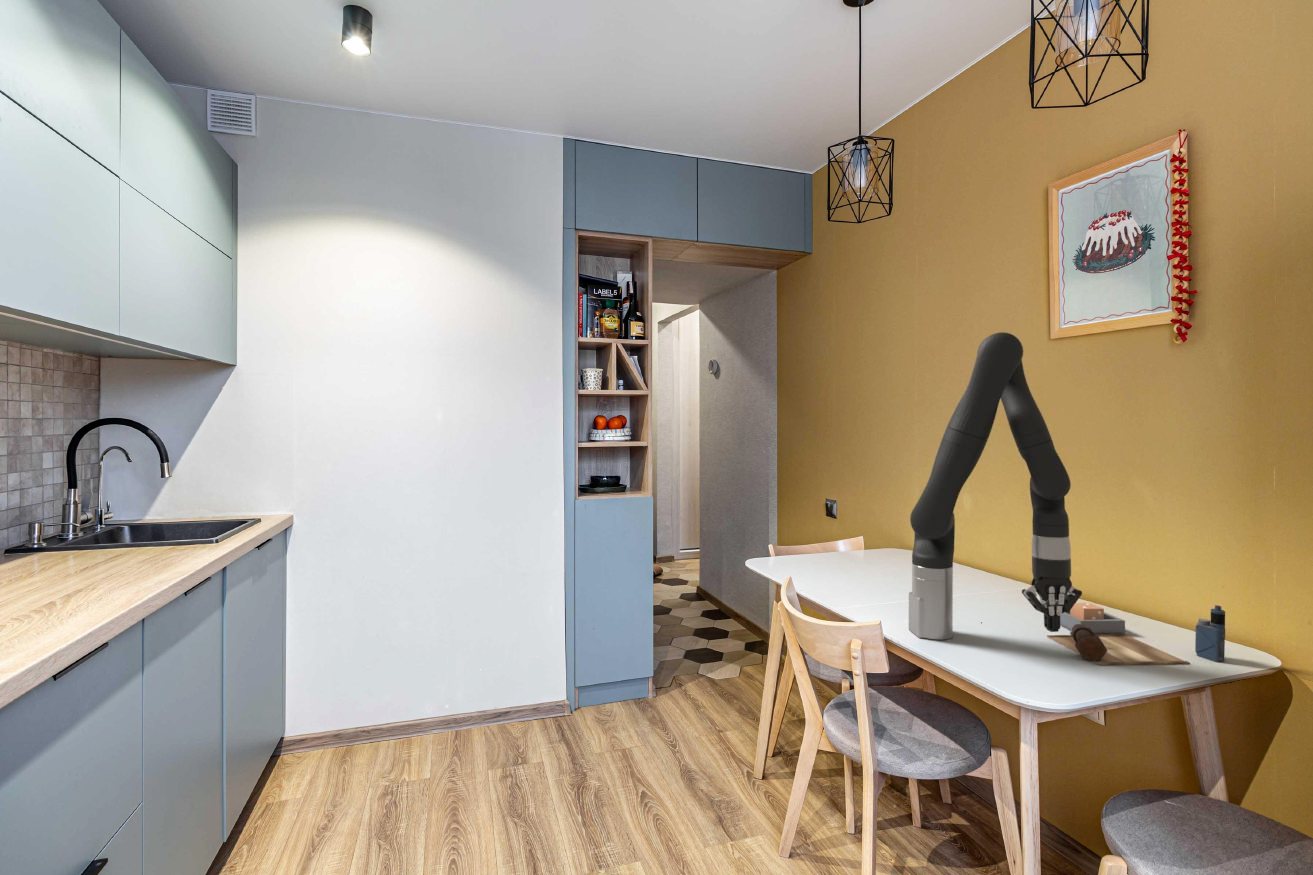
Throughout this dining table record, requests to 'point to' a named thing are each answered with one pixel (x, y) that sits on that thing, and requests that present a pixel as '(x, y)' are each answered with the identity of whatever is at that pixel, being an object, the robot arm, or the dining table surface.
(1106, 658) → the board
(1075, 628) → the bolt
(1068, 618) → the tray
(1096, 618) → the die
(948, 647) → the dining table surface
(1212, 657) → the vaping device
